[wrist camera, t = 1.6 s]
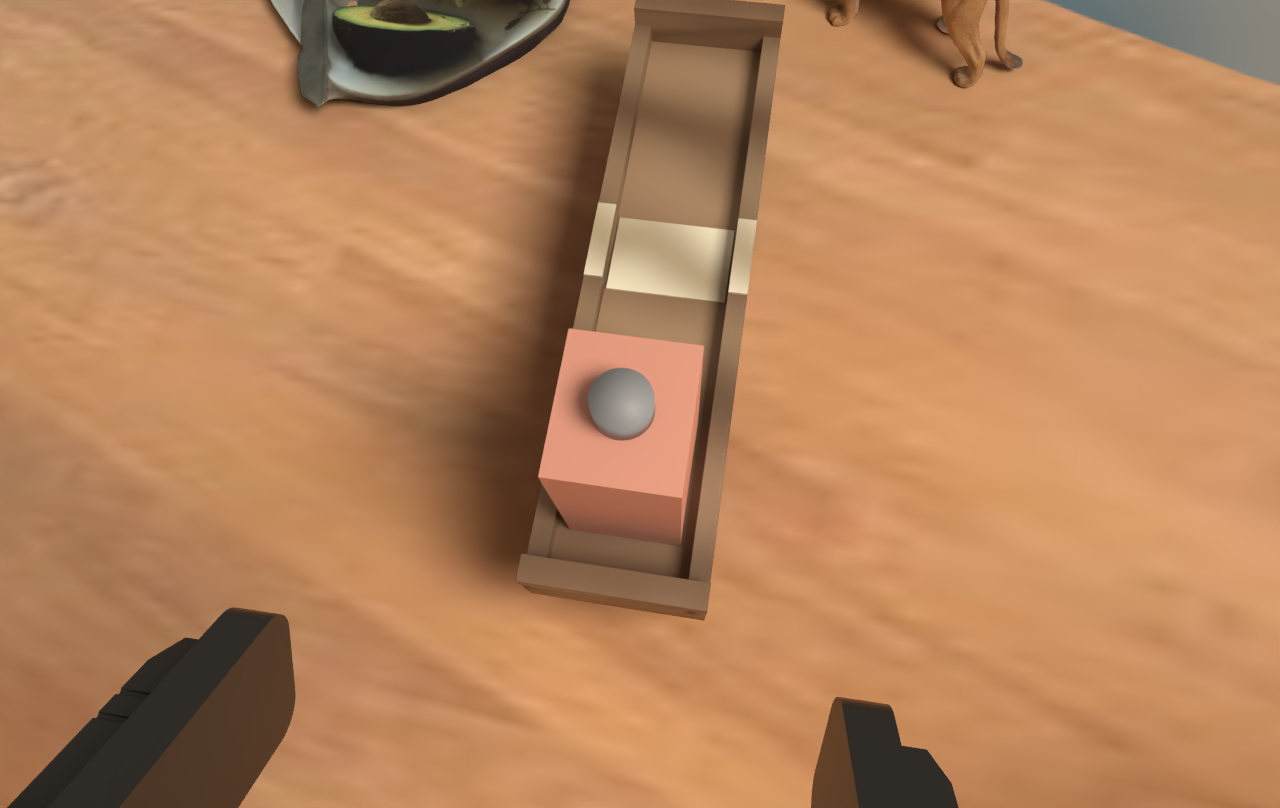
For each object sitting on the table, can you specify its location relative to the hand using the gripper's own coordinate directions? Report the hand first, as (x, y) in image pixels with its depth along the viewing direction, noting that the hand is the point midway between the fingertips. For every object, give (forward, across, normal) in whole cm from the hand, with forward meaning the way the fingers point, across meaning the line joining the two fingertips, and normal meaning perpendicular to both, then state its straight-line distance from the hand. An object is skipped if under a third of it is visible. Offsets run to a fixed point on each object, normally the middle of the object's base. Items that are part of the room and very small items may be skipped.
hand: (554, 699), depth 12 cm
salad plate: (+45, -18, +9) cm, 49 cm away
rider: (+20, 0, -7) cm, 21 cm away
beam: (+30, 0, -4) cm, 30 cm away
